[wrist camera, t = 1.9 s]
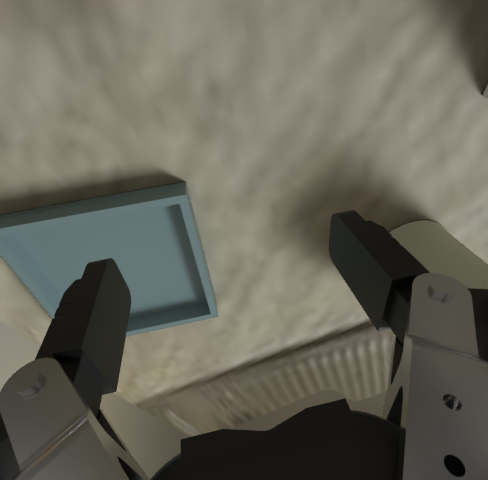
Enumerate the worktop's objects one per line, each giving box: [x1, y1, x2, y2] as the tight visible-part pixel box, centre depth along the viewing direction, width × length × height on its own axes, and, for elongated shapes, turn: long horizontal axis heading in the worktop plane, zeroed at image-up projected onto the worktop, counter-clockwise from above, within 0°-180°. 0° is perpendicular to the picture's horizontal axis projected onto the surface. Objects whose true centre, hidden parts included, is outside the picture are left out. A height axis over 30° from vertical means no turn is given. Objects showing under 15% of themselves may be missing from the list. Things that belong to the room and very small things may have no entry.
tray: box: [0, 182, 218, 336], centre depth 24 cm, size 13×13×2 cm
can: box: [389, 220, 488, 289], centre depth 26 cm, size 9×9×12 cm
